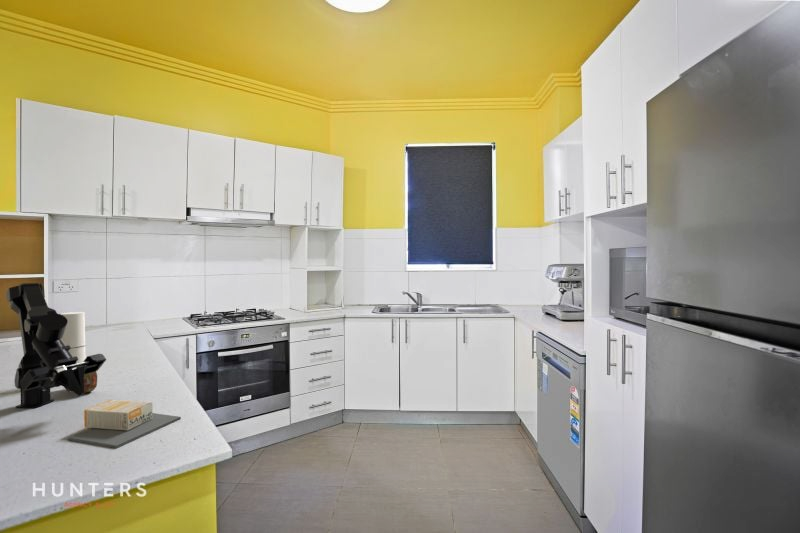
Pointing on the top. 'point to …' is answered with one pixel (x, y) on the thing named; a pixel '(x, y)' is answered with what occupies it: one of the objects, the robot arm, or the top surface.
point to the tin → (89, 382)
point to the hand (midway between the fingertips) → (81, 394)
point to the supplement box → (118, 414)
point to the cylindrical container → (75, 334)
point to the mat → (123, 432)
